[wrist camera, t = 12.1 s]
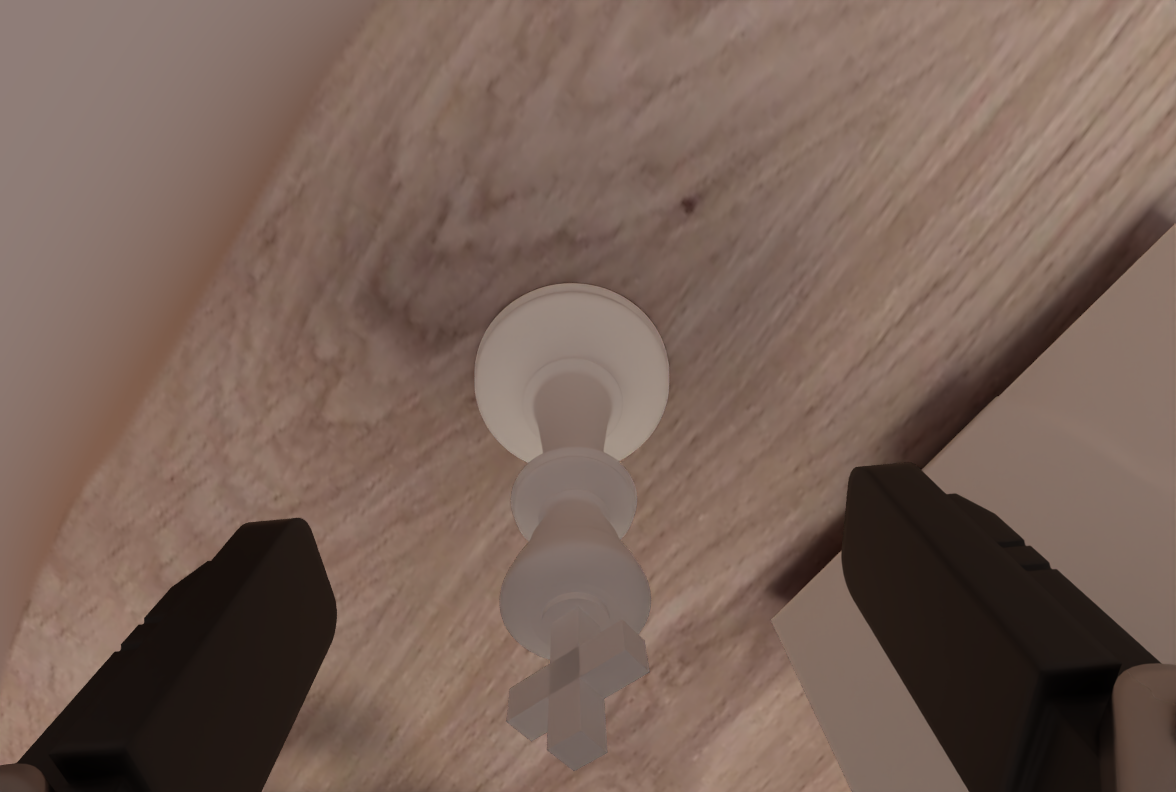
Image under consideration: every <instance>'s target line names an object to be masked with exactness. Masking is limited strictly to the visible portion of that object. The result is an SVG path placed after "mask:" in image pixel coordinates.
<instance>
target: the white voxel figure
mask: <svg viewBox="0 0 1176 792" xmlns="http://www.w3.org/2000/svg"><path fill="white" fill-rule="evenodd" d="M922 471H923V472H924V473H925V474H926V475H927V476H928V477H929V478H930V479H931V480H932V481H933V482H934V483H935V484H936V485H937V486H938V487H939V488H940V489H942V490H943V491H944V492H945V493H946V494H954V493H956V494H958V495H960V496H962V497H964V498H966V499H968V500H970V501H972V502H974V503H976V504H977V505H979V506H981V507H983V508H985V509H987V510H989V511H991V512H993V513H995V514H996V515H997V516H998V517H999V518H1000V519H1002V520H1003V521H1004V522H1005V523H1006V524H1007V525H1008V526H1009V527H1011V528H1012V529H1013V530H1014V531H1015V532H1016V533H1017V534H1018V535H1019V536H1021V537H1022V538H1023V539H1024V542H1025V545H1026V546H1032V547H1033V548H1034V549H1035V550H1036V551H1037V552H1038V553H1039V554H1041V555H1042V556H1043V557H1044V558H1045V559H1046V560H1047V561H1048V562H1049V563H1050V567H1051V569H1057V570H1058V571H1059V572H1061V573H1062V574H1063V575H1064V576H1065V577H1066V578H1067V579H1068V580H1069V581H1071V582H1072V583H1073V584H1074V585H1075V586H1076V587H1077V588H1078V589H1079V590H1081V591H1082V592H1083V593H1084V594H1085V595H1086V596H1087V597H1088V598H1089V599H1091V600H1092V601H1093V602H1094V603H1095V604H1096V605H1097V606H1098V607H1099V608H1101V609H1102V610H1103V611H1104V612H1105V613H1106V614H1107V615H1108V616H1109V617H1111V618H1112V619H1113V620H1114V621H1115V622H1116V623H1117V624H1118V625H1119V626H1121V627H1122V628H1123V629H1124V630H1125V631H1126V632H1127V633H1128V634H1129V635H1131V636H1132V637H1133V638H1134V639H1135V640H1136V641H1137V642H1138V643H1139V644H1141V645H1142V646H1143V647H1144V648H1145V649H1146V650H1147V651H1148V652H1150V653H1151V654H1152V655H1153V656H1154V657H1155V658H1156V659H1157V660H1158V661H1160V662H1161V663H1162V664H1173V665H1176V223H1175V224H1174V225H1173V226H1172V227H1171V228H1170V229H1169V230H1168V231H1167V232H1166V233H1165V234H1164V235H1163V236H1162V237H1161V238H1160V239H1159V240H1158V241H1157V242H1156V243H1155V244H1154V245H1153V246H1152V247H1151V248H1150V249H1149V250H1148V251H1147V252H1146V253H1144V254H1143V255H1142V256H1141V257H1140V258H1139V259H1138V260H1137V261H1136V262H1135V263H1134V264H1133V265H1132V266H1131V267H1130V268H1129V269H1128V270H1127V271H1126V272H1125V273H1124V274H1123V275H1122V276H1121V277H1120V278H1119V279H1118V280H1117V281H1116V282H1115V283H1114V284H1113V285H1112V286H1111V287H1110V288H1109V289H1108V290H1107V291H1106V292H1105V293H1104V294H1103V295H1102V296H1101V297H1100V298H1099V299H1098V300H1097V301H1096V302H1095V303H1093V304H1092V305H1091V306H1090V307H1089V308H1088V309H1087V310H1086V311H1085V312H1084V313H1083V314H1082V315H1081V316H1080V317H1079V318H1078V319H1077V320H1076V321H1075V322H1074V323H1073V324H1072V325H1071V326H1070V327H1069V328H1068V329H1067V330H1066V331H1065V332H1064V333H1063V334H1062V335H1061V336H1060V337H1059V338H1058V339H1057V340H1056V341H1055V342H1054V343H1053V344H1052V345H1051V346H1050V347H1049V348H1048V349H1047V350H1046V351H1045V352H1044V353H1042V354H1041V355H1040V356H1039V357H1038V358H1037V359H1036V360H1035V361H1034V362H1033V363H1032V364H1031V365H1030V366H1029V367H1028V368H1027V369H1026V370H1025V371H1024V372H1023V373H1022V374H1021V375H1020V376H1019V377H1018V378H1017V379H1016V380H1015V381H1014V382H1013V383H1012V384H1011V385H1010V386H1009V387H1008V388H1007V389H1006V390H1005V391H1004V392H1003V393H1002V394H1001V395H1000V396H999V397H998V396H996V397H995V398H994V399H993V400H992V401H991V402H990V403H989V404H988V405H987V406H986V407H985V408H984V409H983V410H982V411H981V412H980V413H979V414H978V415H977V416H976V417H975V418H974V419H973V420H972V421H971V422H970V423H969V424H968V425H967V426H966V427H965V428H964V429H963V430H962V431H961V432H959V433H958V434H957V435H956V436H955V437H954V438H953V439H952V440H951V441H950V442H949V443H948V444H947V445H946V446H945V447H944V448H943V449H942V450H941V451H940V452H939V453H938V454H937V455H936V456H935V457H934V458H933V459H932V460H931V461H930V462H929V463H928V464H927V465H926V466H925V467H924V468H923V469H922ZM841 552H842V551H841ZM841 552H840V553H838V554H837V555H836V556H835V557H834V558H833V559H832V560H831V561H830V562H829V563H828V564H827V565H826V566H825V567H824V568H823V569H822V570H821V571H820V572H819V573H818V574H817V575H816V576H815V577H814V578H813V579H812V580H811V581H810V582H809V583H808V584H807V585H806V586H805V587H804V588H803V589H802V590H801V591H800V592H799V593H798V594H797V595H796V596H795V597H794V598H793V599H792V600H791V601H790V602H789V603H787V604H786V605H785V606H784V607H783V608H782V609H781V610H780V611H779V612H778V613H777V614H776V615H775V616H774V617H773V618H772V619H771V622H772V624H773V626H774V628H775V631H776V633H777V635H778V637H779V639H780V641H781V643H782V645H783V647H784V650H785V652H786V654H787V656H788V658H789V660H790V662H791V664H792V666H793V669H794V671H795V673H796V675H797V677H798V679H799V681H800V683H801V685H802V688H803V690H804V692H805V694H806V696H807V698H808V700H809V702H810V704H811V707H812V709H813V711H814V713H815V715H816V717H817V719H818V721H819V723H820V726H821V728H822V730H823V732H824V734H825V736H826V738H827V740H828V742H829V745H830V747H831V749H832V751H833V753H834V755H835V757H836V759H837V761H838V764H839V766H840V768H841V770H842V772H843V774H844V776H845V778H846V780H847V783H848V785H849V787H850V789H851V791H852V792H969V791H968V789H967V788H966V786H965V784H964V783H963V781H962V779H961V778H960V776H959V774H958V773H957V771H956V769H955V768H954V766H953V764H952V763H951V761H950V759H949V758H948V756H947V754H946V753H945V751H944V750H943V748H942V746H941V745H940V743H939V741H938V740H937V738H936V736H935V735H934V733H933V731H932V730H931V728H930V726H929V725H928V723H927V721H926V720H925V718H924V716H923V715H922V713H921V711H920V710H919V708H918V706H917V705H916V703H915V701H914V700H913V698H912V696H911V695H910V693H909V691H908V690H907V688H906V686H905V685H904V683H903V682H902V680H901V678H900V677H899V675H898V673H897V672H896V670H895V668H894V667H893V665H892V663H891V662H890V660H889V658H888V657H887V655H886V653H885V652H884V650H883V648H882V647H881V645H880V643H879V642H878V640H877V638H876V637H875V635H874V633H873V632H872V630H871V628H870V627H869V625H868V623H867V622H866V620H865V618H864V617H863V615H862V613H861V612H860V610H859V609H858V607H857V605H856V604H855V602H854V600H853V598H852V597H851V595H850V593H849V590H848V588H847V585H846V582H845V578H844V574H843V569H842V560H841Z"/></svg>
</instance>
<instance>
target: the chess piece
mask: <svg viewBox="0 0 1176 792" xmlns="http://www.w3.org/2000/svg"><path fill="white" fill-rule="evenodd" d="M474 377H475V378H474V386H475V396H476V401H477V405H478V408H479V411H480V414H481V416H482V418H483V420H484V422H485V424H486V426H487V427H488V429H489V431H490V432H491V433H492V435H493V436H494V437H495V438H496V439H497V441H498V442H499V443H500V444H501V445H502V446H503V447H505V448H506V449H507V450H508V451H509V452H511V453H512V454H513V455H515V456H516V457H518V458H520V459H521V460H523V461H525V462H527V463H528V464H527V465H526V466H525V467H524V468H523V469H522V470H521V472H520V473H519V475H518V476H517V478H516V480H515V482H514V485H513V488H512V492H511V508H512V513H513V516H514V518H515V521H516V524H517V526H518V528H519V530H520V532H521V533H522V535H523V536H524V537H525V538H526V539H527V540H528V541H529V542H528V544H527V545H526V546H525V547H524V548H523V549H522V550H521V551H520V553H519V554H518V556H517V557H516V559H515V560H514V562H513V563H512V565H511V567H510V568H509V570H508V572H507V574H506V576H505V578H504V581H503V584H502V587H501V592H500V612H501V616H502V619H503V622H504V624H505V626H506V628H507V630H508V631H509V633H510V634H511V635H512V636H513V638H514V639H515V640H516V641H517V642H518V643H519V644H521V645H522V646H523V647H524V648H526V649H527V650H529V651H530V652H532V653H534V654H536V655H538V656H541V657H543V658H546V659H549V660H550V664H549V665H547V666H546V667H544V668H542V669H541V670H539V671H537V672H536V673H534V674H533V675H531V676H529V677H528V678H526V679H525V680H523V681H521V682H520V683H518V684H516V685H515V686H513V687H512V688H510V691H509V701H508V710H507V719H506V722H507V723H509V724H510V725H511V726H512V727H514V728H515V729H516V730H518V731H519V732H520V733H521V734H523V735H524V736H525V737H526V738H528V739H529V740H530V741H533V740H535V739H537V738H538V737H540V736H542V735H543V734H545V733H547V732H548V734H547V750H548V751H549V752H550V753H551V754H553V755H554V756H555V757H557V758H558V759H559V760H560V761H562V762H563V763H564V764H565V765H567V766H568V767H569V768H571V769H572V770H573V771H576V770H578V769H579V768H581V767H583V766H585V765H587V764H588V763H590V762H592V761H594V760H596V759H597V758H599V757H601V756H603V755H604V754H606V753H607V737H606V720H605V704H604V699H605V698H607V697H608V696H610V695H612V694H613V693H615V692H617V691H618V690H620V689H622V688H624V687H625V686H627V685H629V684H630V683H632V682H634V681H636V680H637V679H639V678H641V677H642V676H644V675H646V674H647V673H649V672H650V671H649V665H648V658H647V651H646V645H645V641H644V640H643V639H642V638H641V637H640V636H639V635H638V634H639V633H640V632H641V630H642V629H643V627H644V625H645V623H646V621H647V619H648V616H649V612H650V607H651V593H650V587H649V584H648V580H647V578H646V576H645V573H644V571H643V570H642V568H641V566H640V564H639V563H638V561H637V560H636V558H635V557H634V555H633V554H632V552H631V551H630V550H629V549H628V548H627V547H626V546H625V545H624V544H623V543H622V541H621V539H622V538H623V536H624V535H625V534H626V533H627V531H628V529H629V527H630V525H631V523H632V520H633V517H634V515H635V512H636V507H637V492H636V487H635V484H634V481H633V479H632V477H631V475H630V474H629V472H628V471H627V470H626V468H625V467H624V466H623V465H622V464H621V463H620V462H619V461H620V460H622V459H624V458H626V457H627V456H629V455H630V454H632V453H633V452H634V451H636V450H637V449H638V448H639V447H640V446H641V445H642V444H643V443H644V442H645V441H646V440H647V439H648V438H649V437H650V436H651V434H652V433H653V432H654V430H655V429H656V427H657V425H658V424H659V422H660V420H661V418H662V416H663V413H664V410H665V407H666V404H667V400H668V395H669V363H668V357H667V352H666V349H665V346H664V343H663V341H662V338H661V336H660V334H659V332H658V331H657V329H656V327H655V326H654V324H653V323H652V321H651V320H650V319H649V318H648V317H647V315H646V314H645V313H644V312H643V311H642V310H641V309H640V308H638V307H637V306H636V305H635V304H633V303H632V302H631V301H629V300H628V299H626V298H625V297H623V296H621V295H619V294H617V293H615V292H613V291H610V290H608V289H605V288H602V287H598V286H594V285H589V284H581V283H563V284H555V285H550V286H546V287H542V288H539V289H536V290H533V291H531V292H529V293H527V294H525V295H523V296H521V297H519V298H518V299H516V300H514V301H513V302H512V303H510V304H509V305H508V306H507V307H505V308H504V309H503V310H502V311H501V312H500V313H499V314H498V315H497V316H496V317H495V319H494V320H493V321H492V322H491V324H490V325H489V327H488V328H487V330H486V332H485V334H484V336H483V338H482V340H481V342H480V345H479V348H478V351H477V355H476V360H475V370H474Z"/></svg>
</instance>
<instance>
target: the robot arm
mask: <svg viewBox="0 0 1176 792" xmlns="http://www.w3.org/2000/svg"><path fill="white" fill-rule="evenodd" d="M841 560H842V569H843V574H844V578H845V582H846V585H847V588H848V590H849V593H850V595H851V597H852V598H853V600H854V602H855V604H856V605H857V607H858V609H859V610H860V612H861V613H862V615H863V617H864V618H865V620H866V622H867V623H868V625H869V627H870V628H871V630H872V632H873V633H874V635H875V637H876V638H877V640H878V642H879V643H880V645H881V647H882V648H883V650H884V652H885V653H886V655H887V657H888V658H889V660H890V662H891V663H892V665H893V667H894V668H895V670H896V672H897V673H898V675H899V677H900V678H901V680H902V682H903V683H904V685H905V686H906V688H907V690H908V691H909V693H910V695H911V696H912V698H913V700H914V701H915V703H916V705H917V706H918V708H919V710H920V711H921V713H922V715H923V716H924V718H925V720H926V721H927V723H928V725H929V726H930V728H931V730H932V731H933V733H934V735H935V736H936V738H937V740H938V741H939V743H940V745H941V746H942V748H943V750H944V751H945V753H946V754H947V756H948V758H949V759H950V761H951V763H952V764H953V766H954V768H955V769H956V771H957V773H958V774H959V776H960V778H961V779H962V781H963V783H964V784H965V786H966V788H967V789H968V791H969V792H1176V665H1173V664H1162V663H1161V662H1160V661H1158V660H1157V659H1156V658H1155V657H1154V656H1153V655H1152V654H1151V653H1150V652H1148V651H1147V650H1146V649H1145V648H1144V647H1143V646H1142V645H1141V644H1139V643H1138V642H1137V641H1136V640H1135V639H1134V638H1133V637H1132V636H1131V635H1129V634H1128V633H1127V632H1126V631H1125V630H1124V629H1123V628H1122V627H1121V626H1119V625H1118V624H1117V623H1116V622H1115V621H1114V620H1113V619H1112V618H1111V617H1109V616H1108V615H1107V614H1106V613H1105V612H1104V611H1103V610H1102V609H1101V608H1099V607H1098V606H1097V605H1096V604H1095V603H1094V602H1093V601H1092V600H1091V599H1089V598H1088V597H1087V596H1086V595H1085V594H1084V593H1083V592H1082V591H1081V590H1079V589H1078V588H1077V587H1076V586H1075V585H1074V584H1073V583H1072V582H1071V581H1069V580H1068V579H1067V578H1066V577H1065V576H1064V575H1063V574H1062V573H1061V572H1059V571H1058V570H1057V569H1051V567H1050V563H1049V562H1048V561H1047V560H1046V559H1045V558H1044V557H1043V556H1042V555H1041V554H1039V553H1038V552H1037V551H1036V550H1035V549H1034V548H1033V547H1032V546H1026V545H1025V542H1024V539H1023V538H1022V537H1021V536H1019V535H1018V534H1017V533H1016V532H1015V531H1014V530H1013V529H1012V528H1011V527H1009V526H1008V525H1007V524H1006V523H1005V522H1004V521H1003V520H1002V519H1000V518H999V517H998V516H997V515H996V514H995V513H993V512H991V511H989V510H987V509H985V508H983V507H981V506H979V505H977V504H976V503H974V502H972V501H970V500H968V499H966V498H964V497H962V496H960V495H958V494H956V493H954V494H946V493H945V492H944V491H943V490H942V489H940V488H939V487H938V486H937V485H936V484H935V483H934V482H933V481H932V480H931V479H930V478H929V477H928V476H927V475H926V474H925V473H924V472H923V471H922V470H921V469H920V468H919V467H918V466H916V465H915V464H913V463H910V462H904V463H894V464H883V465H872V466H862V467H856V468H854V469H853V470H852V472H851V474H850V477H849V482H848V491H847V501H846V511H845V521H844V531H843V541H842V552H841ZM336 621H337V609H336V601H335V597H334V594H333V591H332V588H331V585H330V582H329V580H328V577H327V574H326V571H325V568H324V565H323V562H322V559H321V556H320V553H319V551H318V548H317V545H316V542H315V539H314V536H313V533H312V531H311V528H310V526H309V525H308V523H307V522H306V521H305V520H303V519H301V518H291V519H281V520H270V521H259V522H249V523H246V524H244V525H242V526H241V527H240V528H239V529H238V530H237V531H236V532H235V533H234V535H233V536H232V537H231V538H230V539H229V540H228V542H227V543H226V544H225V545H224V546H223V548H222V549H221V550H220V551H219V552H218V553H217V555H216V556H215V557H214V558H213V559H212V561H207V562H206V563H204V564H203V565H202V566H200V567H199V568H198V569H196V570H195V571H194V572H192V573H191V574H189V575H188V576H187V577H185V578H184V579H183V580H181V581H180V582H178V583H177V584H176V585H174V586H173V587H172V588H170V590H169V591H168V592H167V593H166V594H165V595H164V596H163V598H162V599H161V600H160V601H159V602H158V603H157V604H156V606H155V607H154V608H153V609H152V610H151V611H150V612H149V613H148V615H147V616H146V617H145V618H144V624H142V625H138V626H137V627H136V628H135V629H134V630H133V632H132V633H131V634H130V635H129V636H128V637H127V638H126V640H125V641H124V642H123V643H122V644H121V650H120V651H119V652H114V653H113V654H112V655H111V657H110V658H109V659H108V660H107V661H106V662H105V663H104V665H103V666H102V667H101V668H100V669H99V670H98V671H97V672H96V674H95V675H94V676H93V677H92V678H91V679H90V680H89V682H88V683H87V684H86V685H85V686H84V687H83V688H82V689H81V691H80V692H79V693H78V694H77V695H76V696H75V697H74V699H73V700H72V701H71V702H70V703H69V704H68V705H67V707H66V708H65V709H64V710H63V711H62V712H61V713H60V714H59V716H58V717H57V718H56V719H55V720H54V721H53V722H52V724H51V725H50V726H49V727H48V728H47V729H46V730H45V731H44V733H43V734H42V735H41V736H40V737H39V738H38V739H37V741H36V742H35V743H34V744H33V745H32V746H31V747H30V749H29V750H28V751H27V752H26V753H25V754H24V755H23V756H22V758H21V759H20V760H19V761H18V762H17V763H15V764H7V765H1V766H0V792H261V791H262V789H263V787H264V785H265V783H266V781H267V779H268V777H269V774H270V772H271V770H272V768H273V766H274V764H275V762H276V760H277V757H278V755H279V753H280V751H281V749H282V747H283V745H284V743H285V741H286V738H287V736H288V734H289V732H290V730H291V728H292V726H293V724H294V721H295V719H296V717H297V715H298V713H299V711H300V709H301V707H302V704H303V702H304V700H305V698H306V696H307V694H308V692H309V690H310V687H311V685H312V683H313V681H314V679H315V677H316V675H317V673H318V670H319V668H320V666H321V664H322V662H323V660H324V658H325V656H326V654H327V651H328V649H329V647H330V645H331V643H332V640H333V637H334V633H335V629H336Z"/></svg>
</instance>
